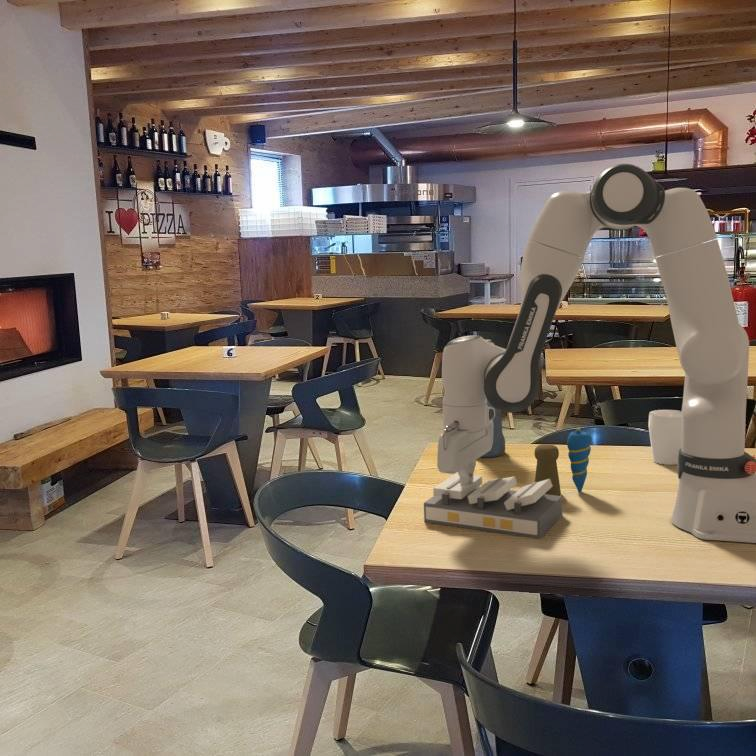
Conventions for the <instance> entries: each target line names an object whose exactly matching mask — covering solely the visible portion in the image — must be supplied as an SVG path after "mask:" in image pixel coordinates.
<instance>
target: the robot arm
mask: <svg viewBox="0 0 756 756" xmlns="http://www.w3.org/2000/svg"><path fill="white" fill-rule="evenodd" d="M546 200H547V201H546V202H545V203H544V205H543V206H542V209H541V211H540V213H539V214H538V217H537V218H536V221H535V222H534V224H533V226H532V227H533V228H532V229H531V231H530V234H529V237H528V239H527V242H526V245H525V248H524V252H523V254H522V260H521V263H520V264H521V265H520V269H519V270H520V272H519V281H520V291H521V295H520V296H521V298H520V307H519V311H518V315H517V316H516V317H517V318H516V320H515V323H514V326H513V329H512V332H511V335H510V338H509V341H508V344H507V347H506V348H504V347H501V346H498V345H495V343H494V344H492V343H493V342H492V343H490V342H488V341H486V340H487V339H485V338H483V337H482V336H481V335H478V334H476V335H474V334H472V335H463V336H460V337H457V338H454V339H452V340H450V341H448V342H447V344H446V345H445V346H444V348H443V351H442V358H441V360H442V361H441V382H442V383H441V384H442V386H443V391H444V393H443V399H442V419H443V420H442V421H443V422H442V424H443V427H444V431H443V432H442V433H441V434H440V436H439V438H438V443H437V454H436V455H437V461H436V462H437V463H436V465H437V466H436V467H437V469H438V471H439V473H441V474H442V473H443V474H449V475H450V474H451V475H454V474H455V473H457V474H459V476H460V484H461V485H468V484H469V483H471V482H472V481H473V475H474V472H475V469H476V466H477V465H476V464H477V460H478V459H480V458H482V457H481V456H483V455H484V454H486V453H487V452H489V451H490V450H491V448H492V444H493V420H492V419H494V417H495V409H494V408H492V407H488V406H487V400H488V401H489V403H490V404H491V405H492V406H493V407H495V408H496V409H498V410H500V411H501V412H503V413H506V414H507V413H508V414H509V413H510V414H513V413H514V414H515V413H520V412H523V411H524V410H526V409H528V408H530V407H531V406H532V405H533V404H534V402H535V401H536V399H537V397H538V395H539V392H540V375H539V362H540V359H541V356H542V352H543V350H544V347H545V344H546V341H547V338H548V336H549V333H550V330H551V327H552V324H553V321H554V318H555V316H556V313H557V311H558V309H559V307H560V306H561V304H562V303H563V300H564V299H565V297H566V295H567V293H568V291H569V290H570V288H571V287H572V284H573V282H574V280H575V279H576V277H577V274H578V272H579V270H580V268H581V266H582V263H583V260H584V257H585V255H586V252H587V250H588V248H589V245H590V242H591V240H592V238H593V236H594V235H595V234H596V233H597V231H615V232H617V231H625V230H630V229H631V228H634V227H635V226H636V227H638V228H640V229H642V230H643V231H644V232H645V234H647V237H648V239H649V242H650V243H651V248H652V251H653V255H654V259H655V261H656V266H657V269H658V273H659V276H660V281H661V282H662V287H663V290H664V293H665V296H666V297H665V298H666V301H667V306H668V313H669V316H670V317H669V318H670V322H671V329H672V332H673V337H674V342H675V347H676V351H677V353H678V360H679V362H680V366H681V367H682V369H683V371H684V373H685V374H684V384H683V395H682V405H681V411H682V423H681V448H680V450H679V454H678V464H677V476H678V479H679V480H678V487H677V493H676V498H675V503H674V508H673V511H672V514H671V516H670V522H671V523H672V524H673V525H674V526H676V527H677V528H678V529H681V530H683V531H686V532H689V533H691V534H692V535H694V536H695V537H696V538H697V539H700V540H707V541H724V542H734V543H736V542H737V543H738V542H739V543H751V544H756V456H755V454H752V455H751V454H749V453H748V452H746V451H745V449H746V448H745V444H746V441H745V440H746V420H747V419H746V416H747V415H746V412H747V397H748V394H747V393H748V377H749V363H750V362H749V357H750V340H749V336H748V333H747V331H746V329H745V328H744V327H743V326H742V325H741V324H740V322H739V319H738V315H737V310H736V309H737V308H736V305H735V301H734V296H733V294H732V288H731V283H730V279H729V275H728V272H727V269H726V264H725V261H724V258H723V255H722V251H721V248H720V247H721V246H720V243H719V240H718V236H717V233H716V229H715V227H714V225H713V222H712V220H711V217H710V214H709V212H708V210H707V208H706V205H705V204H704V202H703V200H702V199H701V196H700V195H699V193H698V192H696V191H695V190H694V189H691V188H688V187H675V188H670V189H666V190H665V188H664V187H663V186H662V185H661V184H660V183H659V182H658V181H657V180H655V178H653V177H652V175H650V174H649V172H647V171H646V170H644V169H643V168H641V167H640V166H637V165H635V164H631V163H619V164H616V165H612V166H610V167H608V168H606V169H605V170H603V171H602V172H601V173H600V174H599V175H598V176H597V178H596V179H595V182H594V183H593V186H592V189H590V190H589V191H587V192H581V193H580V192H577V191H572V190H562V191H557V192H554V193H552V194H551V196H549V198H547V199H546Z"/></svg>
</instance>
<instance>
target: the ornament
mask: <svg viewBox="0 0 756 756" xmlns="http://www.w3.org/2000/svg"><path fill="white" fill-rule="evenodd" d="M581 430H582V429H581V428H580V427H579V425H577V427H576V428H575V431H571V432H570V433H569V434H568V437H567V440H566V444H567V448H568V459H569V461H570V471H571V473H572V475H571V476H572V477H571V479H572V482H573V483H574V486H575V487H576V490H577V492H578V493H579V492H580V493H581V492H583V487H584V484H585V482H586V479H587V475H588V465H589V463H590V459H589V456H590V454H591V452H592V451H591V450H592V447H591V443H592V436H591V434H590V433H589V432H586V431H581Z"/></svg>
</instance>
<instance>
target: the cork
mask: <svg viewBox="0 0 756 756" xmlns="http://www.w3.org/2000/svg"><path fill="white" fill-rule="evenodd" d="M533 452H534V453H533V455H534V458H535V459H536V467H535V474H534V482H540V481H543V480H547V479H550V480H551V483H552V485H553V486H552V487H551V488H550V489H549V490H548V491H547V492H546V493H545V494H548V495H556V496H562V491H561V485H560V476H559V471H558V464H557V460H558V458H559V455H560V451H559V449H558V446H556V445H554V444H549V443H545V444H544V443H543V444H538V445H537V446H536V447H535V449H534V451H533Z"/></svg>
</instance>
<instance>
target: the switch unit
mask: <svg viewBox="0 0 756 756" xmlns="http://www.w3.org/2000/svg"><path fill="white" fill-rule="evenodd" d="M479 487H481V485H480V486H478V487H477V488H476V489H474V490H473V491H472V492H474V491H475V490H477V489H478V488H479ZM517 491H518V490H513V489H510V490H509V491H508V492H506V493H505V494H504V495H503V496H502V497H500V498H499V499H498V500H493V501H486V502H484V498H479V497H478V498H477V503H473V504H470V503H469V500H468V495H470V494H471V493H472V492H470V493H469V494H468V495H466V496H465V497H463V498H462V499H455V498H449V494H447V493H442V497H440V496H434V495H433V496H431V497H430V498H428V499H427V500H426V501H424V502H423V517H424V518H423V519H424V523H430V524H437V525H442V526H443V525H444V526H448V527H449V526H450V527H457V528H463V529H470V530H477V531H485V532H490V533H498V534H499V533H500V534H503V535H511V536H517V537H526V538H532V539H538V540H541V538H542V537H543V536H544V535H546V533H547V532H548V531H549V530H550V529H551V528H552V527H553V526H554V525H555V523H557V521H559V519H561V518H562V516H563V495H561V496H556V495H548V494H544V495H543V496H542V497H540V498H539V499H538V500H537V501H536V502H535V503H532V504H528V505H525V506H521V503H519V502H515V503H514V509H510V510H507V509H506V507H505V504H504V502H505V501H506V500H508V499H509V498H510V497H511V496H512V495H514V494H515V493H516V492H517Z"/></svg>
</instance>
